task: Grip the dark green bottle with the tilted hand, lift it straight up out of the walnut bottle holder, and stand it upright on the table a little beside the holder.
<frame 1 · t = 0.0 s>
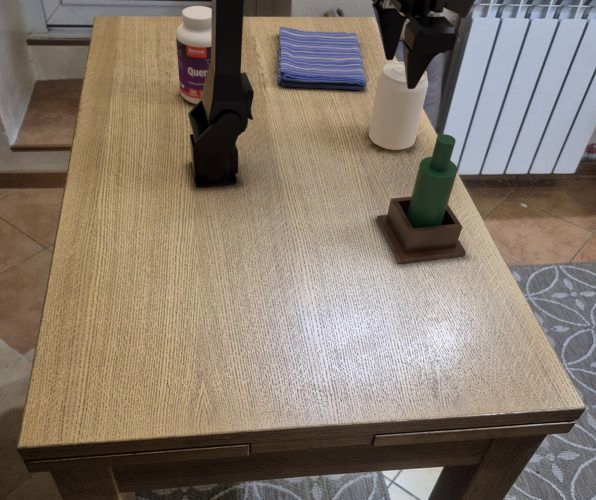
hand: (399, 73, 91), 15 cm above the table, tool pointing down, fingers open, 9 cm apart
pill bottle: (202, 97, 113), on the table
holder: (419, 237, 90), on the table
dish towel: (319, 63, 125), on the table
beverage can: (391, 141, 107), on the table
bottle: (420, 233, 89), point 1 cm above the table, touching holder
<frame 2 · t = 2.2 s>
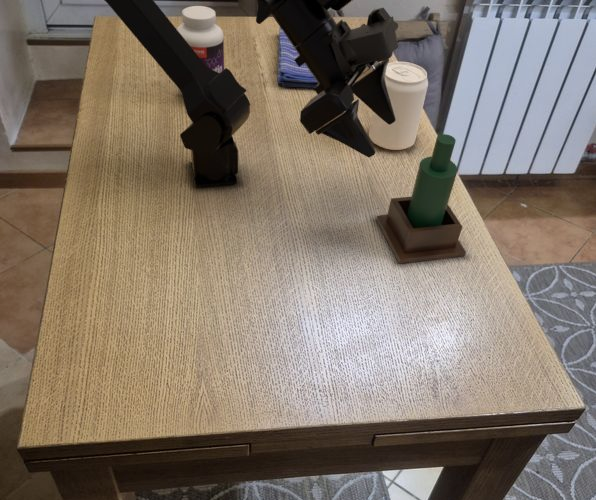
hand: (382, 138, 81), 13 cm above the table, tool tilted 45°, fingers open, 9 cm apart
nothing on the table moved.
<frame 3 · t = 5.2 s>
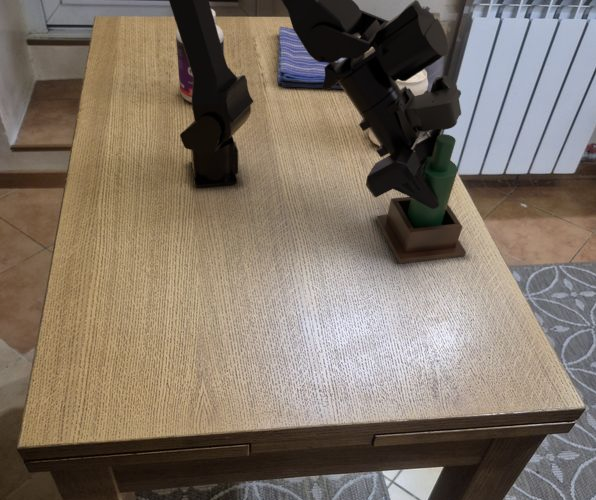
hand: (441, 196, 84), 8 cm above the table, tool tilted 45°, fingers closed on bottle, 5 cm apart
bottle: (420, 233, 89), point 1 cm above the table, touching gripper, holder
everything else where it was.
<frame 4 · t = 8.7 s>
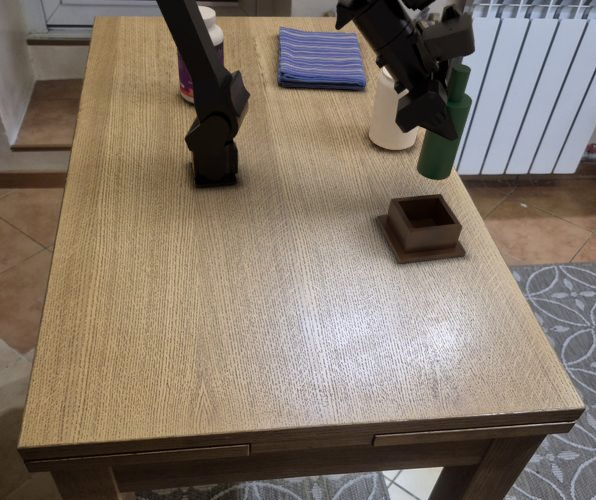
hand: (455, 129, 84), 13 cm above the table, tool tilted 45°, fingers closed on bottle, 5 cm apart
bottle: (433, 170, 90), point 7 cm above the table, touching gripper
everything else where it was.
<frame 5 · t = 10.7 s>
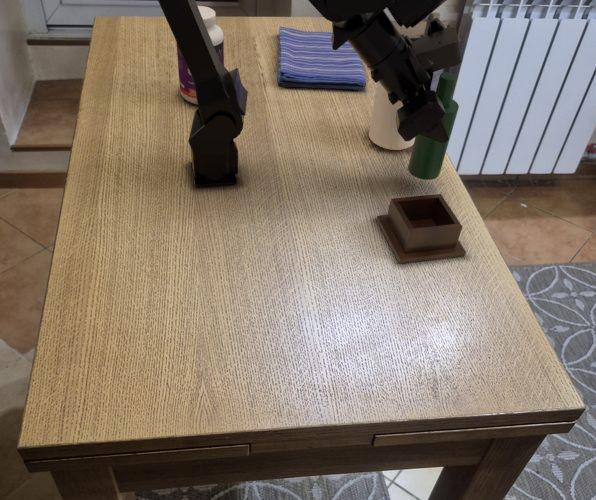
hand: (443, 131, 91), 10 cm above the table, tool tilted 45°, fingers closed on bottle, 5 cm apart
bottle: (423, 170, 96), point 3 cm above the table, touching gripper
everything else where it was.
when the fingers open (7 cm above the table, at t = 12.0 s): bottle stays where it is, on the table.
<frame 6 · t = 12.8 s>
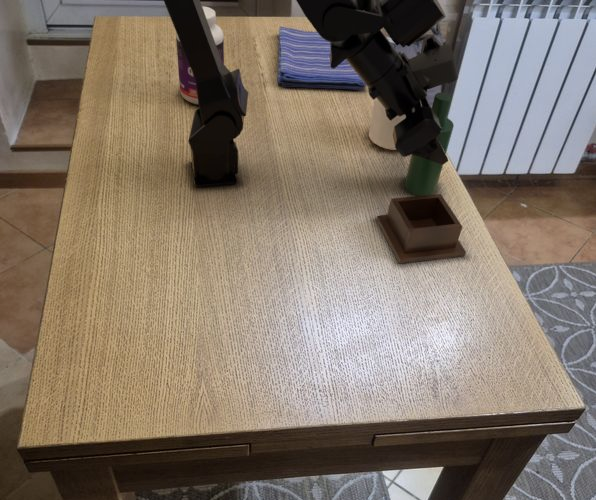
hand: (440, 145, 93), 7 cm above the table, tool tilted 45°, fingers open, 9 cm apart
bottle: (420, 186, 98), on the table
everything else where it was.
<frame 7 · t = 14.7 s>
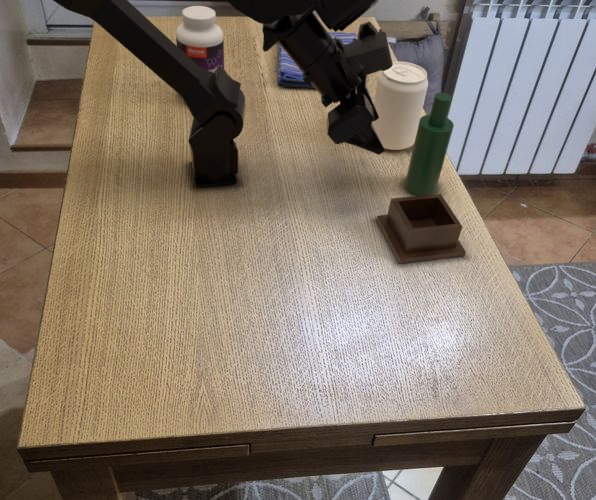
hand: (379, 135, 91), 8 cm above the table, tool tilted 45°, fingers open, 9 cm apart
nothing on the table moved.
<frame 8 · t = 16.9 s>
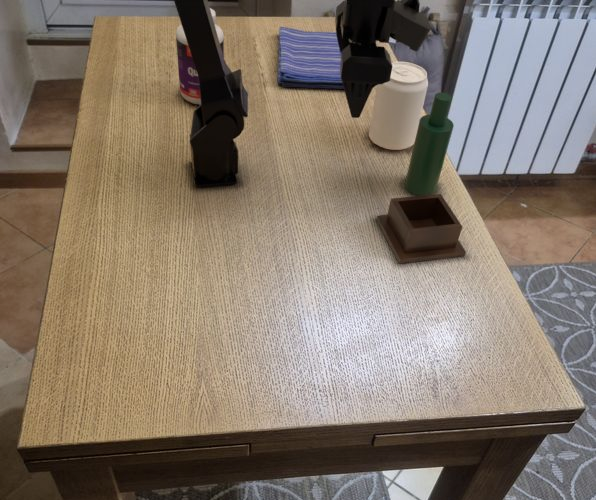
hand: (353, 100, 88), 13 cm above the table, tool pointing down, fingers open, 9 cm apart
nothing on the table moved.
at the end: bottle inside the target area (0.1 cm from its centre), on the table; bottle tilted 0°; bottle touching table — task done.
